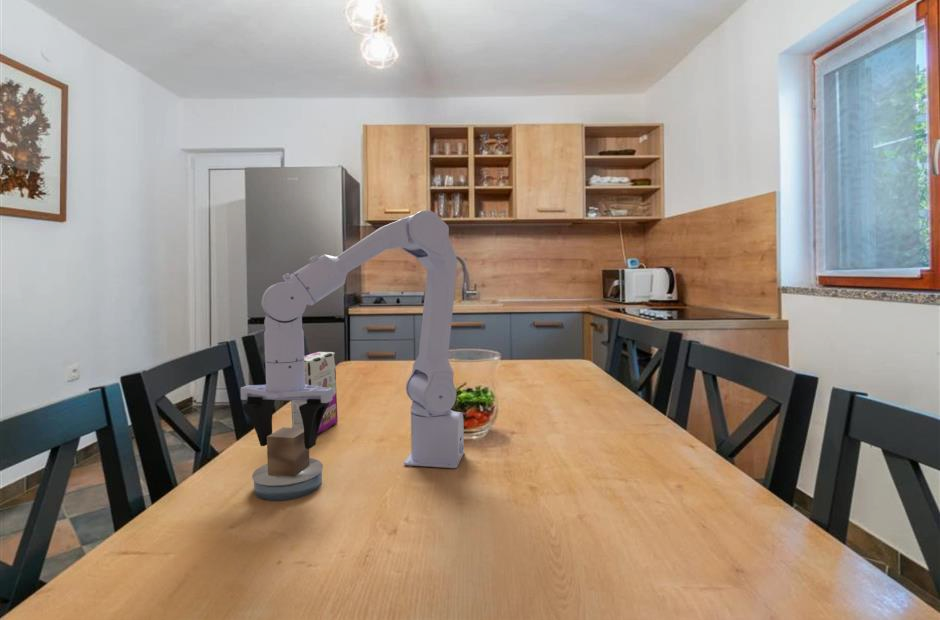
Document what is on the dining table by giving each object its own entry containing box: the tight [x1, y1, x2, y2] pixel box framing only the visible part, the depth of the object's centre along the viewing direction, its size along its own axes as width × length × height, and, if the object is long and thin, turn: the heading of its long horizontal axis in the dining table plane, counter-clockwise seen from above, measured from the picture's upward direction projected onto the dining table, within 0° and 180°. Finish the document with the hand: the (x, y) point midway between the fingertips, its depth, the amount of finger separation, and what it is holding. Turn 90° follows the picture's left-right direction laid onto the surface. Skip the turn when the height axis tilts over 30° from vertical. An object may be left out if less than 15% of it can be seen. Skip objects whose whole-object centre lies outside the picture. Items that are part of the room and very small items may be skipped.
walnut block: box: [266, 427, 310, 476], centre depth 74 cm, size 4×4×6 cm
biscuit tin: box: [251, 457, 324, 502], centre depth 74 cm, size 10×10×3 cm
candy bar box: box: [290, 351, 339, 437], centre depth 101 cm, size 11×5×16 cm, turn 168°
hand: (288, 445), depth 74 cm, fingers open, 7 cm apart
